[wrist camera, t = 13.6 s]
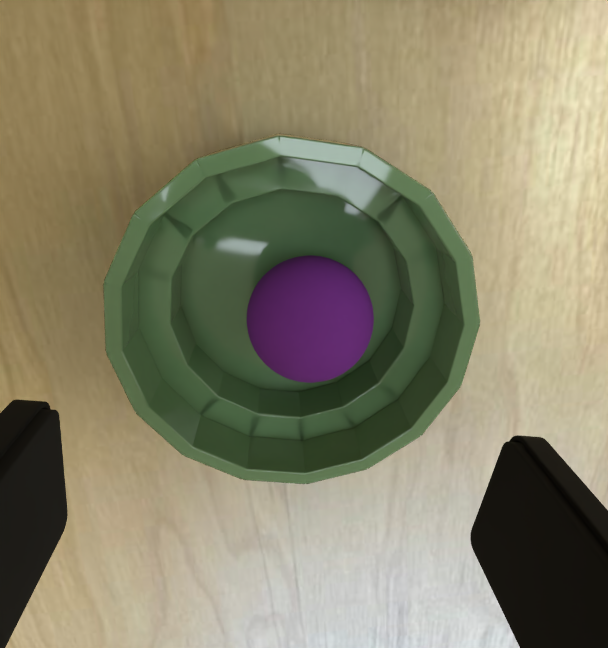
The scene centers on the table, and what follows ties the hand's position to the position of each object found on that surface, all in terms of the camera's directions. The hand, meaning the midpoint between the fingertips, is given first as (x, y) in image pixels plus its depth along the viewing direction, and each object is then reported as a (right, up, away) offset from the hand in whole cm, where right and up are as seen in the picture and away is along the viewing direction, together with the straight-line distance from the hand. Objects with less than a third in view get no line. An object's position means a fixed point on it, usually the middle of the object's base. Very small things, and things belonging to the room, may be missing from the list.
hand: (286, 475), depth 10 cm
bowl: (0, +5, +11) cm, 12 cm away
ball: (+1, +3, +8) cm, 9 cm away
